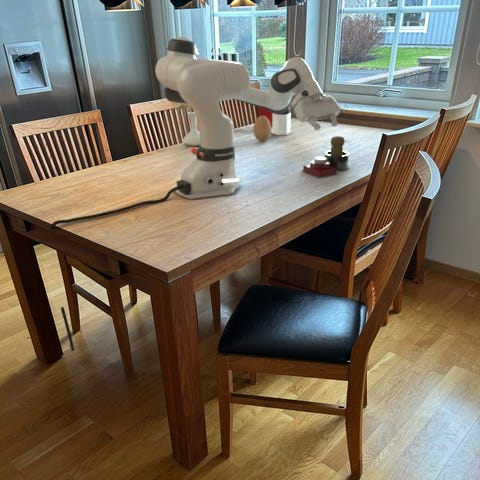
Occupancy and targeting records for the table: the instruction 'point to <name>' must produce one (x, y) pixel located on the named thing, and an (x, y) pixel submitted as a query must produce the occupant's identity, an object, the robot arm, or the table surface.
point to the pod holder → (338, 160)
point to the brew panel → (319, 169)
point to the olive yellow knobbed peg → (337, 146)
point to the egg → (262, 128)
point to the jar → (281, 123)
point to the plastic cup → (266, 114)
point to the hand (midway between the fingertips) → (327, 127)
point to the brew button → (320, 160)
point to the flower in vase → (193, 135)
